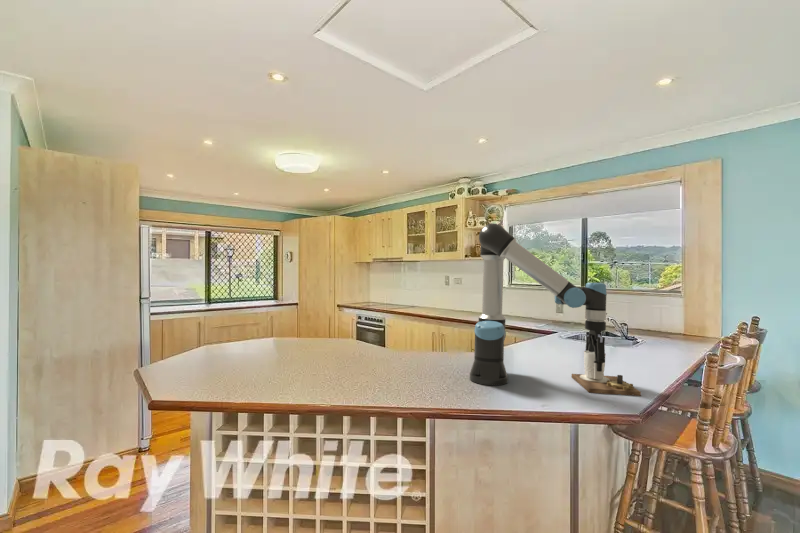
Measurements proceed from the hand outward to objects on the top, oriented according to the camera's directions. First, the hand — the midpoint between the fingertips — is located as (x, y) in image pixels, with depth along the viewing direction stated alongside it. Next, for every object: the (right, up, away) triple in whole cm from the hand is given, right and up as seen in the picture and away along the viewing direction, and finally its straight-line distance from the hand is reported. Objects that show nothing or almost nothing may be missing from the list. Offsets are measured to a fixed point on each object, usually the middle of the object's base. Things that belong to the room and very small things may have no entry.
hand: (594, 376), depth 154 cm
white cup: (0, 0, 0) cm, 0 cm away
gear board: (+1, -3, -4) cm, 5 cm away
